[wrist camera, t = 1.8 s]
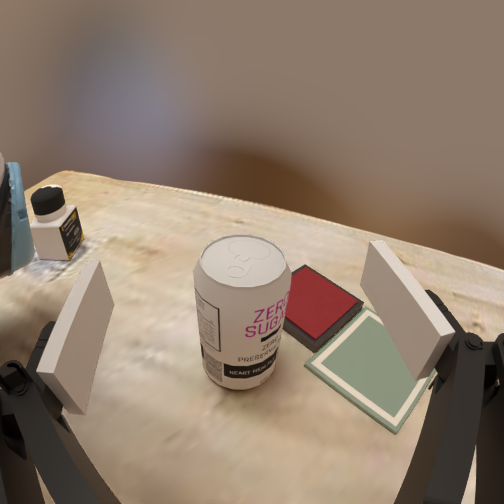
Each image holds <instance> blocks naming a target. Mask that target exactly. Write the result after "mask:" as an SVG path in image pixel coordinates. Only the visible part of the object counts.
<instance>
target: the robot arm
mask: <svg viewBox="0 0 504 504" xmlns="http://www.w3.org/2000/svg"><path fill="white" fill-rule="evenodd" d="M34 253H35V249H34V243H33V239H32V234H31V229H30V224H29V219H28V215H27V209H26V203H25V196H24V190H23V183H22V177H21V170H20V165H19V164H18V163H17V162H12V163H11V162H8V163H6V164H5V162H4V160H3V157H2V154H1V152H0V279H1V278H3V277H6V276H10V275H12V274H13V273H14V271H16V270H18V269H20V268H22V267H24V266H26V265H28V264H29V263H30V262H31V261H32V259H33V257H34ZM360 286H361V287H362V289H363V291H364V292H365V294H366V296H367V297H368V299H369V301H370V302H371V304H372V306H373V307H374V309H375V311H376V312H377V314H378V316H379V318H380V319H381V321H382V323H383V324H384V326H385V328H386V330H387V331H388V333H389V335H390V337H391V338H392V340H393V342H394V344H395V346H396V347H397V349H398V351H399V353H400V355H401V356H402V358H403V360H404V362H405V364H406V366H407V367H408V369H409V371H410V373H411V375H412V377H413V379H414V381H417V380H420V379H423V378H426V377H429V376H430V374H431V373H432V371H433V369H434V368H435V369H436V371H437V373H438V374H437V375H436V377H435V378H434V380H433V381H432V383H431V384H430V386H429V388H428V389H429V390H430V389H431V388H432V386H433V389H432V394H431V398H430V402H429V406H428V409H427V413H426V417H425V420H424V424H423V427H422V430H421V434H420V437H419V440H418V443H417V446H416V449H415V452H414V455H413V457H412V460H411V463H410V466H409V468H408V471H407V474H406V476H405V479H404V481H403V484H402V486H401V488H400V491H399V493H398V495H397V498H396V500H395V502H394V504H461V502H462V498H463V495H464V492H465V488H466V485H467V481H468V477H469V473H470V469H471V465H472V460H473V456H474V451H475V446H476V492H475V504H504V333H501V334H500V335H499V336H498V337H497V339H496V340H495V342H483V340H482V339H481V338H480V337H479V336H478V335H476V334H474V333H470V332H467V333H466V332H465V331H464V330H463V328H462V327H461V326H460V324H459V323H458V322H457V320H456V319H455V318H454V316H453V315H452V314H451V312H450V311H448V308H447V307H446V306H445V305H444V303H443V302H442V301H441V299H440V298H439V297H438V296H437V295H436V294H434V293H433V292H432V291H430V290H424V289H423V288H422V287H421V286H420V284H419V283H418V282H417V281H416V279H415V278H414V277H413V276H412V274H411V273H410V272H409V271H408V270H407V268H406V267H405V266H404V265H403V264H402V262H401V261H400V260H399V259H398V258H397V256H396V255H395V254H394V253H393V252H392V251H391V249H390V248H389V247H388V246H387V245H386V244H385V243H384V241H383V240H379V241H370V242H369V247H368V252H367V256H366V261H365V265H364V270H363V274H362V278H361V283H360ZM113 307H114V302H113V299H112V296H111V293H110V290H109V287H108V284H107V281H106V278H105V275H104V272H103V269H102V266H101V263H100V260H99V261H86V263H85V264H84V266H83V268H82V270H81V272H80V274H79V276H78V278H77V280H76V282H75V284H74V286H73V288H72V290H71V292H70V294H69V296H68V298H67V300H66V302H65V304H64V306H63V308H62V310H61V313H60V315H59V317H58V319H57V321H56V322H53V321H50V322H49V323H48V324H47V325H46V326H45V327H44V328H43V330H42V332H41V334H40V336H39V338H38V341H37V343H36V345H35V348H34V350H33V352H32V354H31V357H30V359H29V362H28V364H27V367H26V369H25V368H24V367H23V365H22V364H21V363H20V362H19V361H17V360H11V361H8V362H6V363H4V364H3V365H2V366H1V367H0V387H1V388H2V389H0V504H45V501H44V498H43V495H42V491H41V488H40V484H39V481H38V477H37V473H36V469H35V466H36V468H37V470H38V472H39V474H40V476H41V478H42V480H43V482H44V484H45V485H46V487H47V489H48V491H49V493H50V495H51V496H52V498H53V500H54V502H55V503H56V504H121V503H120V502H119V500H118V499H117V498H116V496H115V495H114V494H113V492H112V491H111V490H110V488H109V487H108V486H107V484H106V483H105V482H104V480H103V479H102V477H101V476H100V475H99V473H98V472H97V470H96V469H95V467H94V466H93V464H92V463H91V461H90V460H89V458H88V457H87V455H86V453H85V452H84V450H83V449H82V447H81V445H80V444H79V442H78V440H77V439H76V437H75V435H74V434H73V432H72V430H71V428H70V427H69V425H68V423H67V421H66V419H65V417H64V416H63V415H62V414H61V412H62V408H63V406H64V407H65V409H66V410H67V411H68V412H69V413H72V414H80V415H86V410H87V406H88V401H89V396H90V392H91V387H92V383H93V379H94V375H95V371H96V367H97V363H98V359H99V355H100V352H101V348H102V344H103V341H104V337H105V334H106V330H107V327H108V324H109V320H110V317H111V314H112V311H113ZM498 379H499V383H500V385H498V381H497V380H498ZM34 464H35V465H34Z"/></svg>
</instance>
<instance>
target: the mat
mask: <svg viewBox="0 0 504 504" xmlns="http://www.w3.org/2000/svg"><path fill="white" fill-rule="evenodd" d="M304 366H305V367H306V368H307V369H309V370H310V371H311V372H312V373H314V374H315V375H316V376H318V377H319V378H320V379H321V380H323V381H324V382H325V383H326V384H328V385H329V386H330V387H332V388H333V389H334V390H336V391H337V392H338V393H339V394H341V395H342V396H343V397H345V398H346V399H347V400H349V401H350V402H351V403H353V404H354V405H355V406H357V407H358V408H359V409H361V410H362V411H363V412H365V413H366V414H367V415H369V416H370V417H371V418H373V419H374V420H375V421H377V422H378V423H380V424H381V425H382V426H384V427H385V428H387V429H388V430H389V431H391V432H392V433H393V434H396V433H397V432H398V430H399V429H400V427H401V426H402V424H403V423H404V421H405V420H406V418H407V417H408V415H409V414H410V412H411V411H412V409H413V408H414V406H415V405H416V403H417V401H418V400H419V398H420V396H421V395H422V393H423V391H424V390H425V388H426V386H427V385H428V383H429V381H430V379H431V378H432V376H433V374H434V372H435V371H436V369H435V368H434V369H433V371H432V373H431V374H430V376H429V377H426V378H423V379H420V380H417V381H414V379H413V377H412V375H411V373H410V371H409V369H408V367H407V366H406V364H405V362H404V360H403V358H402V356H401V355H400V353H399V351H398V349H397V347H396V346H395V344H394V342H393V340H392V338H391V337H390V335H389V333H388V331H387V330H386V328H385V326H384V324H383V323H382V321H381V319H380V318H379V316H378V314H377V313H375V312H374V311H372V310H371V309H369V308H368V307H365V308H364V309H363V310H362V311H361V312H360V313H359V314H358V315H357V316H356V317H355V318H354V319H353V320H352V321H351V322H349V323H348V324H347V325H346V326H345V327H344V328H343V329H342V330H341V331H340V332H339V333H338V334H337V335H336V336H335V337H334V338H333V339H332V340H330V341H329V342H328V343H327V344H326V345H325V346H324V347H323V348H322V349H321V350H319V351H318V352H317V353H316V354H315V355H314V356H313V357H312V358H310V359H309V360H308V361H307V362H306V363H305V364H304Z"/></svg>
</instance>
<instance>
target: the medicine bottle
mask: <svg viewBox="0 0 504 504" xmlns="http://www.w3.org/2000/svg"><path fill="white" fill-rule="evenodd" d="M31 203H32V207H33V210H34V214H35V217H36V218H35V219H34V220H33V221H32V223H31V224H30V229H31V234H32V239H33V242H34V245H35V248H36V250H37V253H38V256H39V258H40V259H46V260H70V259H71V257H72V256H73V254H74V252H75V251H76V249H77V248H78V246H79V245H80V243H81V241H82V240H83V238H84V235H83V232H82V228H81V224H80V220H79V216H78V212H77V208H76V205H66V203H65V199H64V195H63V190H62V187H61V186H59V185H47V186H44V187H41V188H39V189H38V190H37V191H35V192H34V193H33V194H32V196H31Z"/></svg>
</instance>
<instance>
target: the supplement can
mask: <svg viewBox="0 0 504 504" xmlns="http://www.w3.org/2000/svg"><path fill="white" fill-rule="evenodd" d="M193 275H194V287H195V297H196V307H197V317H198V326H199V335H200V343H201V351H202V359H203V367H204V369H205V371H206V372H207V374H208V376H209V377H210V378H211V379H212V380H214V381H215V382H216V383H217V384H219V385H221V386H224V387H227V388H230V389H245V390H246V389H249V388H253V387H256V386H259V385H260V384H261V383H263V382H264V381H266V380H267V379H268V378H269V377H270V375H271V373H272V372H273V370H274V368H275V363H276V358H277V353H278V348H279V343H280V338H281V333H282V328H283V323H284V318H285V313H286V307H287V302H288V297H289V291H290V286H291V275H292V273H291V271H290V269H289V266H288V264H287V262H286V257H285V255H284V252H283V250H282V249H281V248H280V247H278V246H277V245H276V244H275V243H274V242H272V241H270V240H268V239H266V238H263V237H260V236H255V235H251V234H233V235H227V236H222V237H220V238H217V239H215V240H213V241H211V242H210V243H209V244H208V245H206V246H205V247H204V248H203V250H202V252H201V255H200V258H199V260H198V261H197V264H196V266H195V268H194V270H193Z"/></svg>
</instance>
